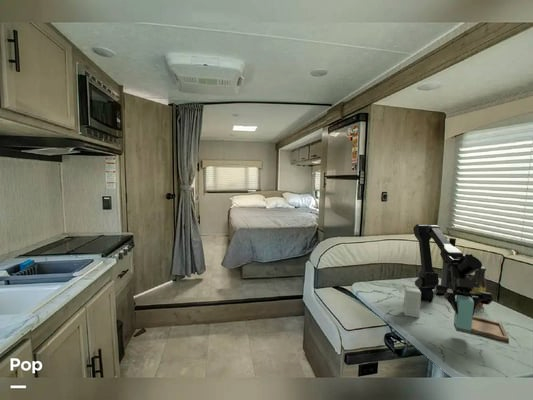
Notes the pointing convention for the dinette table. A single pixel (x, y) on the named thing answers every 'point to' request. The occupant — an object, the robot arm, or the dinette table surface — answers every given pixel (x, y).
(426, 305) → the dinette table surface
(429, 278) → the robot arm
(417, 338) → the dinette table surface
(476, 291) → the sauce bottle
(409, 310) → the skincare box
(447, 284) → the wine bottle
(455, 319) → the teal block
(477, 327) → the walnut tray
